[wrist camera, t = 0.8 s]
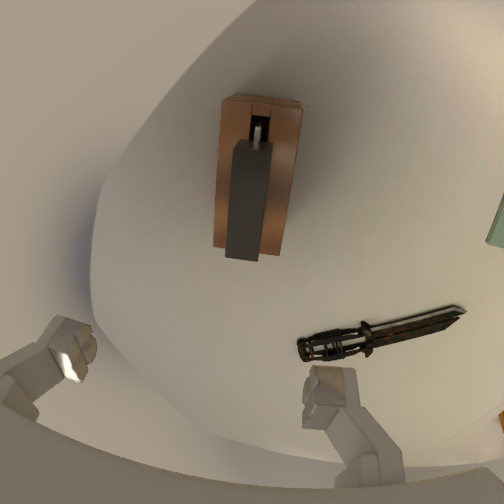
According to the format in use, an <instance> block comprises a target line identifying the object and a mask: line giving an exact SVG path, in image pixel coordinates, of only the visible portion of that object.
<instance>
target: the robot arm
mask: <svg viewBox="0 0 504 504" xmlns="http://www.w3.org/2000/svg"><path fill="white" fill-rule="evenodd" d="M92 332H93V331H92V328H91V326H90V325H88V324H85V323H82V322H79V321H75V320H72V319H69V318H66V317H63V316H60V315H57V316H55V317H54V318H53V319H52V321H51V322H50V323H49V325H48V326H47V328H46V329H45V330H44V332H43V334H42V335H41V336H40V338H39V339H38V341H37V342H36V343H34V342H33V343H31V344H29V345H27V346H25V347H23V348H21V349H19V350H18V351H16V352H14V353H12V354H10V355H8V356H7V357H5V358H3V359H1V360H0V504H504V483H503V482H502V481H501V480H500V479H499V478H498V477H497V476H496V475H495V474H494V473H493V472H492V471H491V470H489V469H488V468H486V467H478V468H474V469H470V470H467V471H462V472H459V473H454V474H450V475H445V476H441V477H436V478H431V479H425V480H419V481H413V482H406V483H405V474H404V466H403V459H402V451H401V450H400V448H399V447H398V446H397V445H396V444H395V443H394V441H393V440H392V439H391V438H390V437H389V435H388V434H387V433H386V432H385V431H384V430H383V428H382V427H381V426H380V425H379V424H378V422H377V421H376V420H375V419H374V418H373V416H372V415H371V414H370V413H369V412H368V411H367V409H366V408H365V407H361V405H360V398H359V390H358V383H357V376H356V370H355V369H354V368H344V367H334V366H319V365H313V366H312V367H311V369H310V377H308V378H306V381H305V384H304V388H303V398H302V402H303V404H304V405H305V408H304V410H303V412H302V428H304V429H317V430H325V432H326V434H327V436H328V437H329V439H330V440H331V442H332V444H333V445H334V447H335V449H336V450H337V452H338V453H339V455H340V457H341V458H342V460H343V461H344V463H345V465H346V466H347V468H346V469H345V470H344V471H343V472H341V473H340V474H339V475H338V476H337V477H335V488H334V489H306V488H305V489H304V488H282V487H268V486H257V485H247V484H239V483H231V482H225V481H218V480H212V479H207V478H201V477H196V476H191V475H186V474H182V473H177V472H173V471H169V470H165V469H161V468H157V467H153V466H149V465H146V464H142V463H139V462H135V461H132V460H129V459H126V458H123V457H120V456H117V455H113V454H111V453H108V452H105V451H102V450H99V449H97V448H94V447H92V446H89V445H86V444H84V443H81V442H79V441H76V440H74V439H72V438H69V437H67V436H65V435H62V434H60V433H58V432H56V431H54V430H51V429H49V428H47V427H45V426H43V425H41V424H39V423H37V422H36V420H37V418H38V416H39V410H38V409H37V408H36V407H35V405H34V404H33V403H32V402H34V401H35V400H36V399H38V398H39V397H40V396H42V395H43V394H44V393H46V392H47V391H48V390H50V389H51V388H52V387H54V386H55V385H56V384H58V383H59V382H60V381H62V380H63V379H64V377H65V378H67V379H70V380H73V381H76V382H79V383H82V382H83V380H84V378H85V376H86V374H87V372H88V367H87V365H88V364H90V363H92V362H93V360H94V358H95V356H96V352H97V342H96V339H95V338H94V337H93V336H92V335H91V333H92Z"/></svg>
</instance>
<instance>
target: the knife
mask: <svg viewBox="0 0 504 504" xmlns="http://www.w3.org/2000/svg"><path fill="white" fill-rule="evenodd" d="M466 312H467V311H465V310H462V309H459V308H455V307H452V308H449V309H445V310H442V311H438V312H434V313H431V314H427V315H423V316H420V317H416V318H412V319H408V320H404V321H400V322H396V323H392V324H387V325H383V326H379V327H374V328H370V325H369V324H367V323H366V322H364V321H361V327H362V328H360V329H345V330H339V329H337V330H333V331H331V330H330V331H329V332H328V331H326V332H322V333H318V334H315V335H314V336H311V337H309V338H308V339H299V340H298V341H297V346H298V352H299V355H300V358H301V359H302V361H303V362H310V361H313V360H321V361H324V362H325V361H328V362H329V361H333V360H337V359H339V360H340V359H344V358H345V357H346V356H351V355H355V354H357V353H359V352H361V351H362V353H364V352H365V357H366V358H367V357H369V356H370V355H371V353H372V352H373V348H376V347H380V346H384V345H389V344H393V343H397V342H401V341H405V340H409V339H413V338H417V337H421V336H424V335H428V334H432V333H435V332H439V331H442V330H445V329H446V328H448V327H449V326H450V325H451V324H453V323H454V322H455V321H457V320H458V319H459V318H460V317H455V316H459V315H462V314H465V313H466ZM452 317H455V318H452ZM449 318H451V319H449ZM445 319H448V320H445ZM442 320H445V321H442ZM438 321H441V322H438ZM435 322H438V323H435ZM433 323H434V324H433ZM427 324H429V325H427ZM424 325H427V326H424ZM420 326H423V327H420ZM416 327H419V328H416ZM412 328H415V329H412ZM408 329H412V330H408ZM404 330H408V331H404ZM400 331H404V332H400ZM355 332H358V335H352V334H351V333H355ZM396 332H400V333H396ZM393 333H396V334H393ZM346 334H350V335H346ZM342 335H345V336H342ZM383 335H387V336H383ZM364 336H365V338H366V344H365V342H364V343H359V344H354V345H349V346H344V347H342V342H341V341H345V340H350V339H355V338H360V337H364ZM379 336H383V337H379ZM375 337H378V338H375ZM314 340H315V341H314ZM311 341H313V342H311ZM306 342H308V343H309V344H308V345H306ZM338 342H339V343H340V347H338ZM330 343H331V344H332V347H333V349H332V348H330V349H328V347H327V344H330ZM334 343H336V347H337V348H335V346H334ZM318 345H324V348H325V350H323V351H317V352H314V350H313V346H318ZM307 347H308V348H309V351H310V353H306V351H305V348H307ZM357 347H360V349H358V350H353V349H355V348H357ZM348 350H353V351H348ZM346 351H348V352H346ZM309 355H311V358H310V356H309ZM314 355H323V356H321V357H315V358H314Z"/></svg>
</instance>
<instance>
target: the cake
mask: <svg viewBox="0 0 504 504" xmlns="http://www.w3.org/2000/svg"><path fill="white" fill-rule="evenodd" d="M486 242H487V243H488V244H489V245H493V246H497V247H502V248H504V196H503V199H502V202H501V204H500V207H499V210H498V212H497V215H496V218H495V220H494V223H493V225H492V228H491V230H490V232H489V235H488V237H487V239H486Z"/></svg>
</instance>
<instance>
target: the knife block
mask: <svg viewBox="0 0 504 504" xmlns="http://www.w3.org/2000/svg"><path fill="white" fill-rule="evenodd" d="M302 113H303V108H302V106H301V104H300V102H298V101H291V100H284V99H276V98H268V97H260V96H250V95H239V94H234V95H232V96H230V97H227V98H225V99H223V100H222V109H221V121H220V135H219V149H218V163H217V179H216V197H215V216H214V238H213V247H218V248H225V247H226V232H227V218H228V204H229V191H230V178H231V166H232V153H233V149H234V147H235V145H236V144H237V142H238V141H239V139H245V140H254V133H255V126H256V125H257V123H258V121H259V119H260V117H261V116H266V124H265V132H264V141H263V142H270V143H273V144H274V145H273V153H272V160H271V168H270V176H269V184H268V191H267V199H266V206H265V214H264V221H263V229H262V236H261V244H260V250H259V253H261V254H268V255H275V256H279V255H280V250H281V244H282V238H283V232H284V227H285V221H286V215H287V209H288V203H289V197H290V191H291V184H292V178H293V172H294V166H295V159H296V153H297V146H298V140H299V133H300V127H301V120H302Z"/></svg>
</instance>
